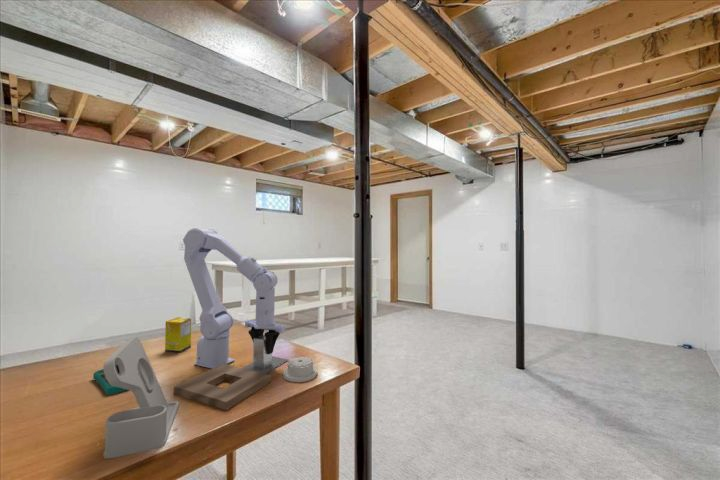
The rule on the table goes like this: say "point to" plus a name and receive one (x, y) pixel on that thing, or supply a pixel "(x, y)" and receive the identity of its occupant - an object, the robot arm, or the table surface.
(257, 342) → the alloy block
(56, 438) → the table surface
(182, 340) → the supplement box
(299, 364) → the mechanical component
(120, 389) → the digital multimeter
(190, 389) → the pocket board
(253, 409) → the table surface
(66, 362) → the table surface
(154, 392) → the phone holder
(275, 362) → the rubber mat
